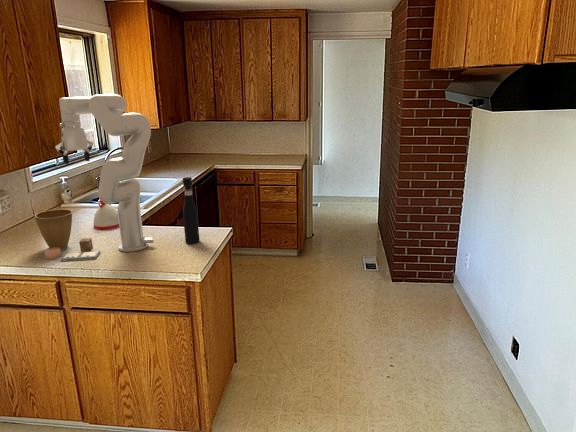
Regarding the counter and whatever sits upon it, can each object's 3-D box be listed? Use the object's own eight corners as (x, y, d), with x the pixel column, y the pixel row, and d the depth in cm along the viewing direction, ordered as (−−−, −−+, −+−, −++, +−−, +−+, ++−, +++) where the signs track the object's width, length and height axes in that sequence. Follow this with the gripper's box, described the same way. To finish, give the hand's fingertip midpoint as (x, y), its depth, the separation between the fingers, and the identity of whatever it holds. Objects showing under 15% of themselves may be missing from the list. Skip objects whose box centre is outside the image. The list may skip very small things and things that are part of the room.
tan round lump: (63, 254, 197) (62, 246, 196) (58, 259, 192) (57, 251, 191) (48, 255, 197) (47, 247, 196) (43, 260, 191) (42, 252, 190)
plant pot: (39, 254, 197) (32, 219, 192) (42, 244, 210) (36, 211, 206) (76, 249, 202) (71, 215, 198) (77, 240, 215) (72, 207, 211)
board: (100, 253, 197) (100, 250, 197) (96, 258, 191) (95, 256, 190) (66, 255, 196) (66, 252, 195) (61, 261, 189) (60, 258, 189)
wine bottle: (184, 241, 210) (178, 177, 202) (198, 239, 213) (192, 176, 204) (187, 245, 204) (181, 179, 196) (201, 243, 207) (195, 178, 199)
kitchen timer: (127, 223, 240) (124, 196, 236) (107, 231, 228) (103, 202, 224) (109, 220, 246) (105, 193, 242) (88, 227, 235) (83, 199, 231)
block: (92, 248, 203) (91, 238, 202) (90, 251, 199) (88, 241, 198) (83, 249, 203) (82, 238, 201) (80, 252, 199) (79, 241, 198)
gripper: (55, 127, 199) (61, 165, 204) (94, 124, 211) (98, 160, 216) (48, 126, 204) (54, 163, 208) (86, 123, 216) (91, 159, 221)
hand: (77, 162), depth 212 cm, fingers open, 9 cm apart
